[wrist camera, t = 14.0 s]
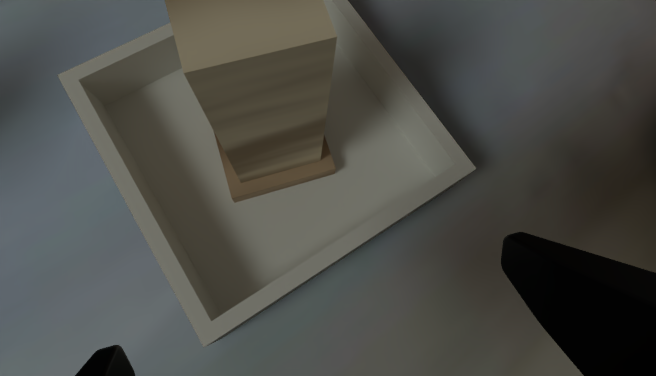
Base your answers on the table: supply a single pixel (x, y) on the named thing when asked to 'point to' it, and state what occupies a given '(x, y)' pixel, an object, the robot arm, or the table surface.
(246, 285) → the box
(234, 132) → the stepped wooden block
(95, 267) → the table surface
